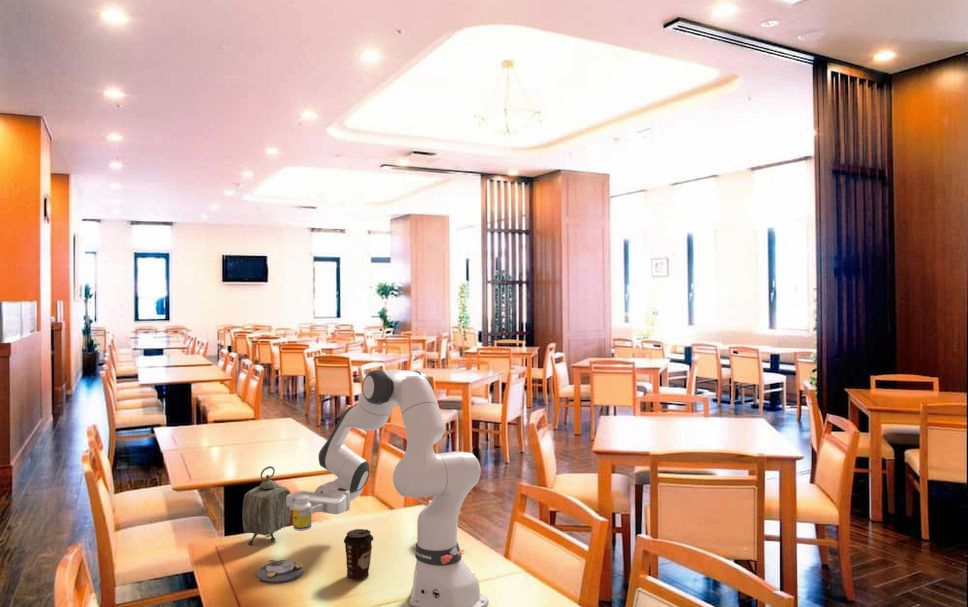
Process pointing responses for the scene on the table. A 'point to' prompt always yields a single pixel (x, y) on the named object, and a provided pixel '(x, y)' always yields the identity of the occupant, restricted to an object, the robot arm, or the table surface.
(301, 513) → the supplement bottle
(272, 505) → the tabletop clock
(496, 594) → the table surface
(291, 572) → the stand
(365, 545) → the coffee cup
